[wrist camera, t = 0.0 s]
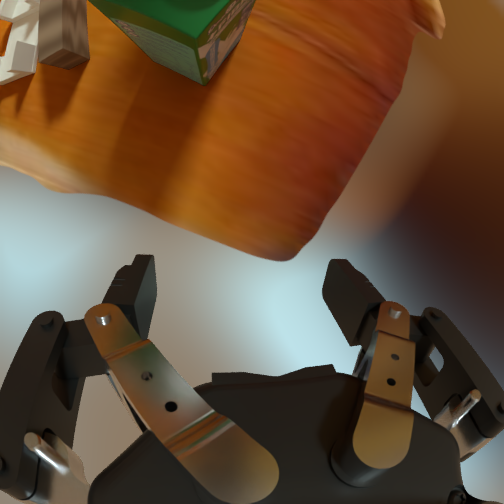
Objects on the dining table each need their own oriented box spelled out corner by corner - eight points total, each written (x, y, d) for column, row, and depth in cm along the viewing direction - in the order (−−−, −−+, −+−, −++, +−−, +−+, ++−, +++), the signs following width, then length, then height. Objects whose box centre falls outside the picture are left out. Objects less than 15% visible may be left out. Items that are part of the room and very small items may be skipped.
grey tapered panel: (66, -2, 19) (41, -18, 11) (86, -12, 19) (65, -31, 11) (68, 70, 26) (38, 62, 18) (90, 59, 26) (62, 48, 19)
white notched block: (22, 3, 15) (3, -5, 9) (56, -12, 16) (39, -24, 10) (3, 85, 23) (-21, 85, 17) (35, 72, 24) (11, 69, 18)
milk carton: (205, 86, 32) (194, 27, 10) (152, 61, 29) (76, -9, 7) (240, 39, 29) (283, -57, 7) (188, 14, 26) (167, -91, 4)
